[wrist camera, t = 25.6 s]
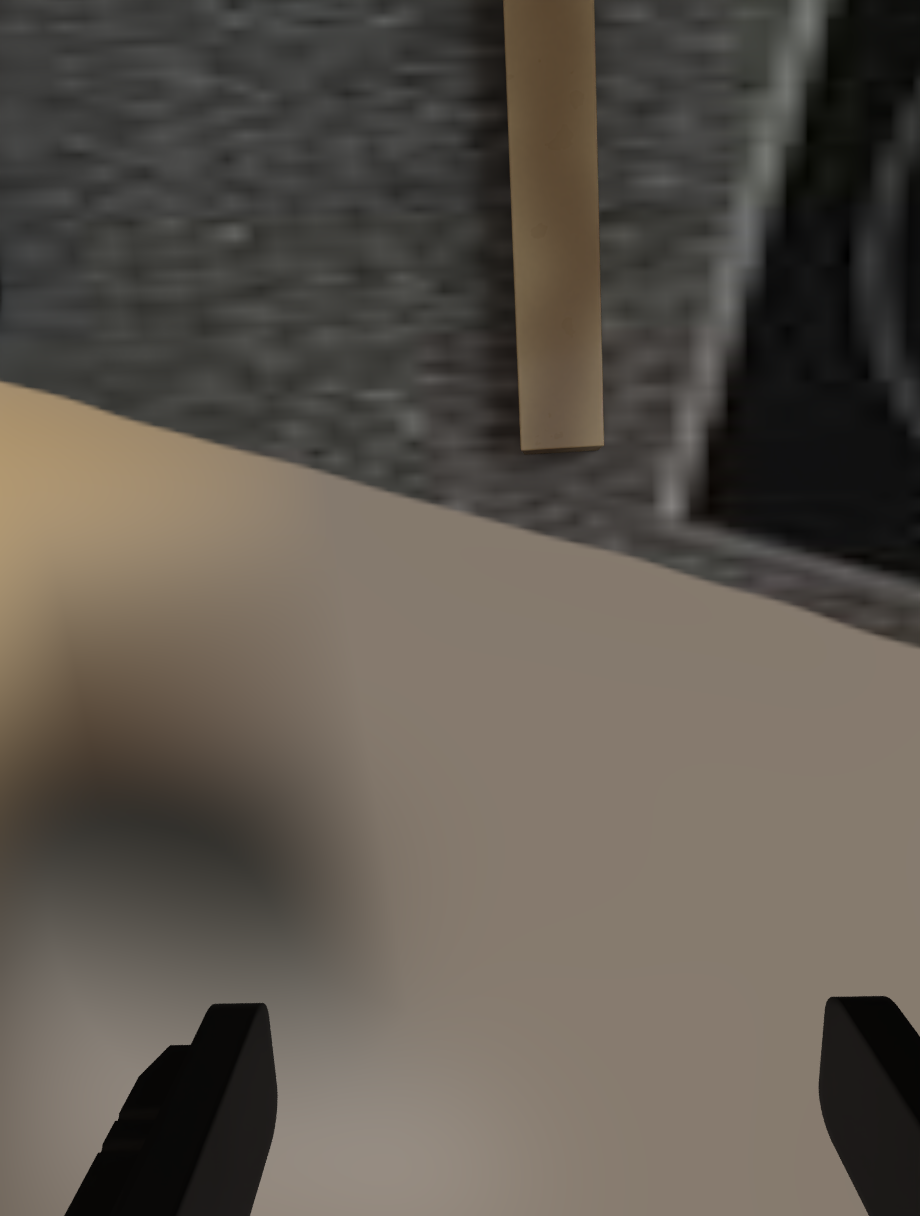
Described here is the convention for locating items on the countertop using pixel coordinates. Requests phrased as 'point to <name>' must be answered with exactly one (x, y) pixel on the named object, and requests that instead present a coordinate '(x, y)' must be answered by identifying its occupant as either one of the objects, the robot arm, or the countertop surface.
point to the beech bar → (555, 222)
